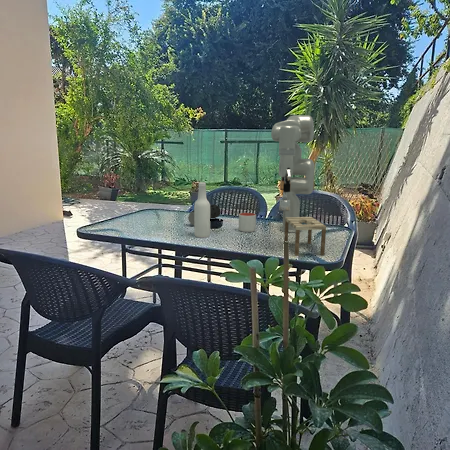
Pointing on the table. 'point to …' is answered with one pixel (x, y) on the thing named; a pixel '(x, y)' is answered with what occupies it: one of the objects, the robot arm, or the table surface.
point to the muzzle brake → (214, 213)
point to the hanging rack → (311, 225)
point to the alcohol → (202, 213)
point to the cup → (247, 222)
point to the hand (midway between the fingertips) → (285, 190)
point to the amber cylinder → (284, 199)
